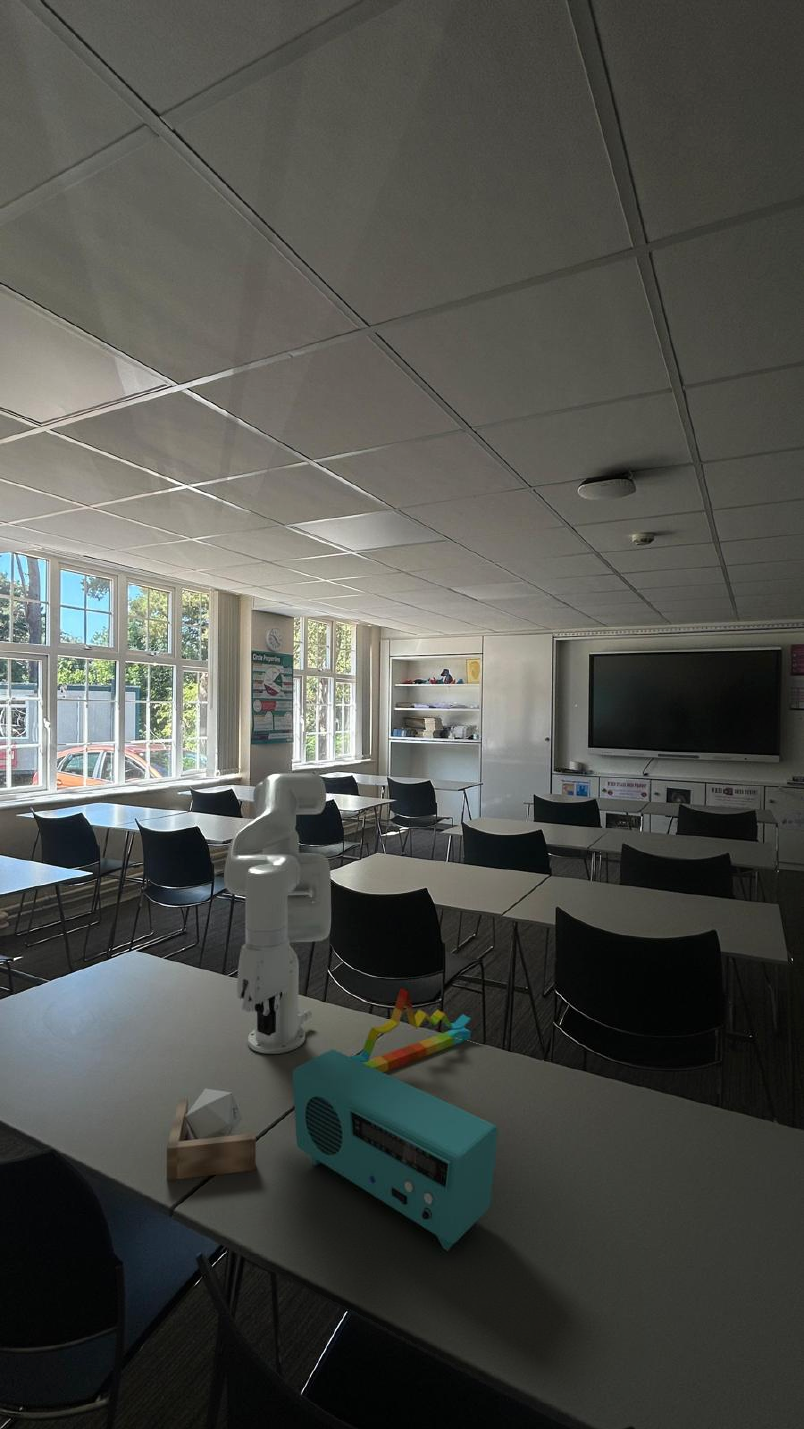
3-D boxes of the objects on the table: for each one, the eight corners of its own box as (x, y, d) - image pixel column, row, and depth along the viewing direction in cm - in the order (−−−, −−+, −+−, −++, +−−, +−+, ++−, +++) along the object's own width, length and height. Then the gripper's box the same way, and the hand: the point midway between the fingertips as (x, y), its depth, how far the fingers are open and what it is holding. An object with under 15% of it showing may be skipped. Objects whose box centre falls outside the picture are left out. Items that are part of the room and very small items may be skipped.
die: (200, 1168, 109) (238, 1115, 110) (166, 1129, 112) (203, 1078, 114) (224, 1156, 116) (258, 1106, 118) (191, 1119, 119) (225, 1072, 121)
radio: (285, 1162, 109) (286, 1070, 109) (332, 1132, 117) (332, 1046, 117) (456, 1277, 87) (457, 1161, 87) (499, 1230, 95) (500, 1124, 95)
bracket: (183, 1125, 119) (183, 1096, 119) (260, 1166, 108) (260, 1135, 108) (130, 1157, 110) (130, 1127, 110) (207, 1205, 99) (207, 1172, 99)
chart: (460, 1033, 154) (461, 968, 154) (470, 1039, 151) (470, 972, 151) (348, 1076, 136) (348, 1002, 136) (357, 1083, 133) (357, 1007, 133)
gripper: (280, 917, 131) (280, 1009, 132) (220, 942, 118) (220, 1043, 119) (309, 926, 126) (309, 1021, 127) (250, 952, 114) (250, 1057, 115)
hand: (266, 1031), depth 123 cm, fingers closed
